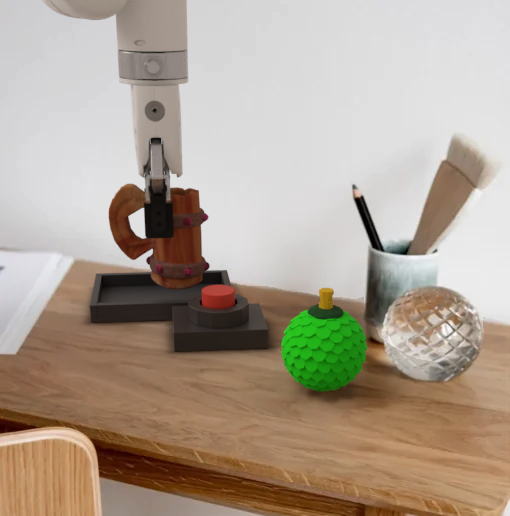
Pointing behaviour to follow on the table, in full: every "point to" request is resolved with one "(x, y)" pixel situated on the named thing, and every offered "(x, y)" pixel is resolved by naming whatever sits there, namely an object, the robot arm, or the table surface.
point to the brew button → (218, 296)
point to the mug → (164, 249)
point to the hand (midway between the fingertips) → (159, 227)
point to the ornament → (324, 346)
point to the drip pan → (142, 296)
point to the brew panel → (219, 326)
